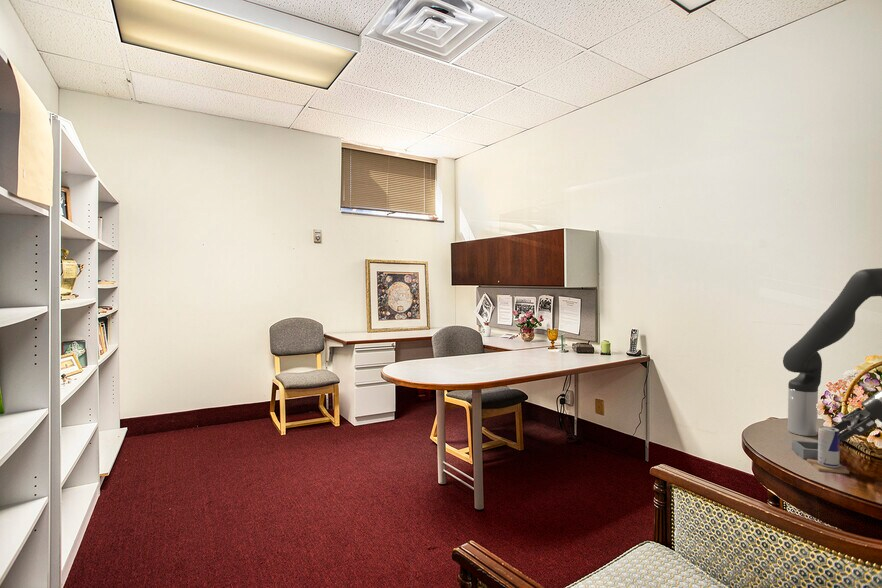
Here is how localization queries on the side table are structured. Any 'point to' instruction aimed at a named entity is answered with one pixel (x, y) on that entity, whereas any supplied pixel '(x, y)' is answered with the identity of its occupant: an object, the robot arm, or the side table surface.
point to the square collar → (805, 449)
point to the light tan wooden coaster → (827, 469)
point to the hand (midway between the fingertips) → (836, 434)
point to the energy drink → (828, 447)
